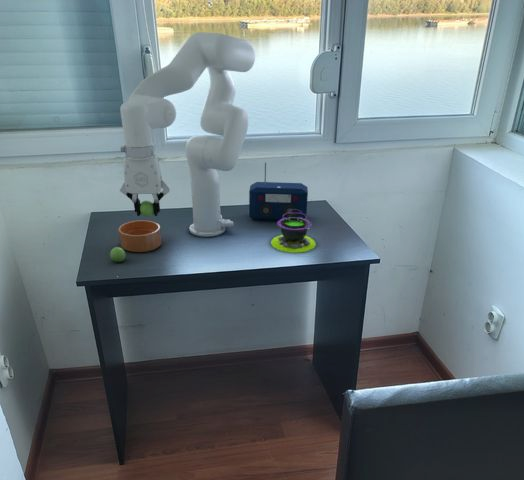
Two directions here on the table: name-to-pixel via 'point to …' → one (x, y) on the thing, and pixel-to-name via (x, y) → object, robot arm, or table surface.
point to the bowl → (140, 236)
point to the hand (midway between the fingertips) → (147, 213)
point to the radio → (277, 200)
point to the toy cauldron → (293, 236)
